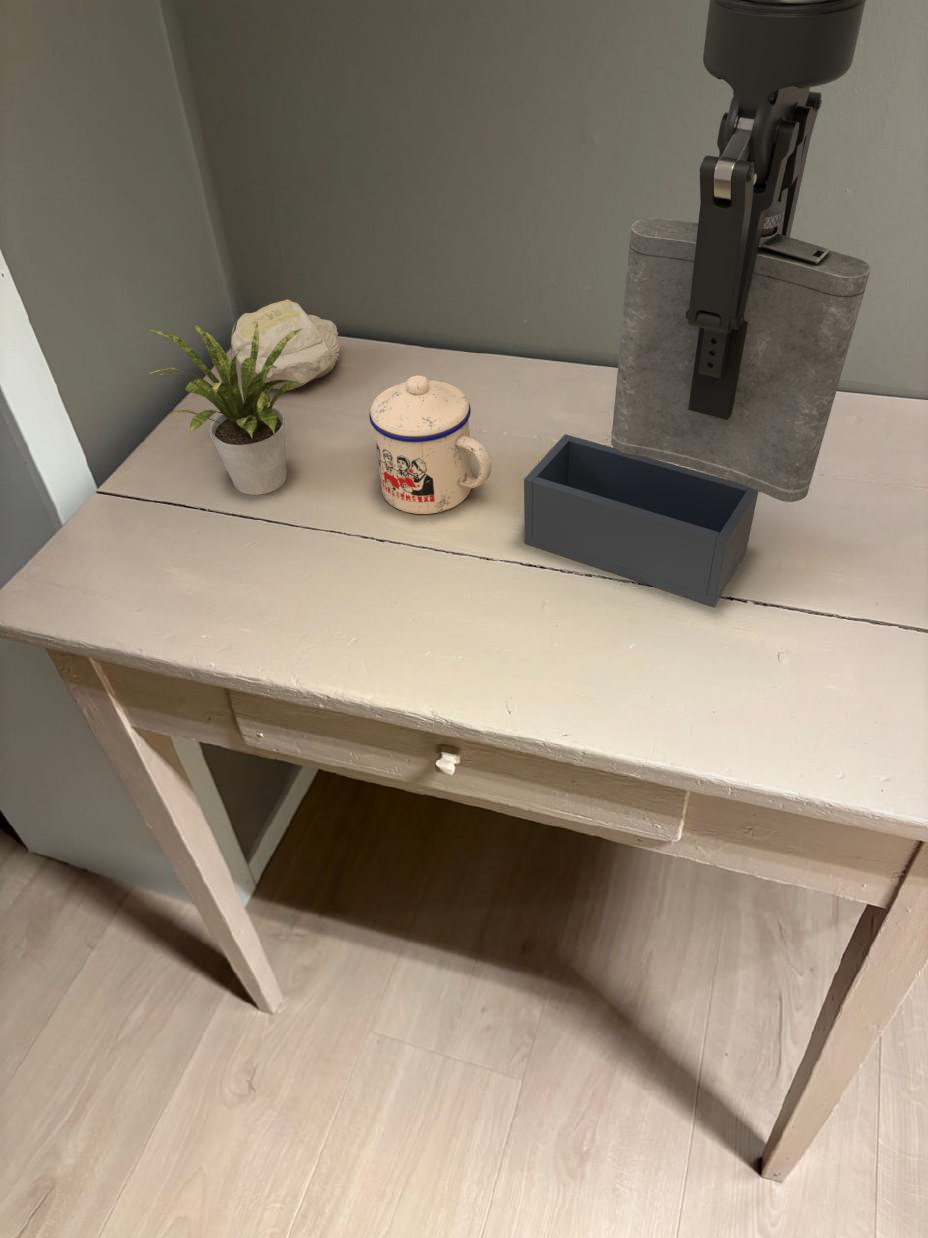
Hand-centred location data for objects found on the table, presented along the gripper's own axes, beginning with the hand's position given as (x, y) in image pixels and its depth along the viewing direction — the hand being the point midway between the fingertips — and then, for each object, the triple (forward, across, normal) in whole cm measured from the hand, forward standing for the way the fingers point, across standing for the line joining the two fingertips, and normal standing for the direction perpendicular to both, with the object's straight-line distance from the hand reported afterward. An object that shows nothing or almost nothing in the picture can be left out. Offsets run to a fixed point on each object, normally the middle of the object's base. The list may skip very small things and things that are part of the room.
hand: (721, 395), depth 64 cm
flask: (+6, 0, 0) cm, 6 cm away
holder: (+20, -5, -7) cm, 22 cm away
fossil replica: (+21, -16, -52) cm, 58 cm away
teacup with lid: (+20, -4, -26) cm, 34 cm away
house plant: (+21, +2, -44) cm, 49 cm away
